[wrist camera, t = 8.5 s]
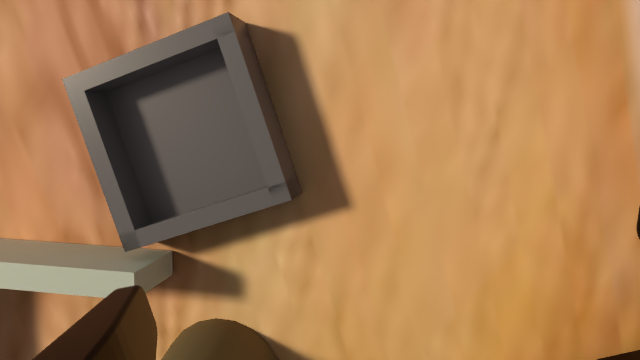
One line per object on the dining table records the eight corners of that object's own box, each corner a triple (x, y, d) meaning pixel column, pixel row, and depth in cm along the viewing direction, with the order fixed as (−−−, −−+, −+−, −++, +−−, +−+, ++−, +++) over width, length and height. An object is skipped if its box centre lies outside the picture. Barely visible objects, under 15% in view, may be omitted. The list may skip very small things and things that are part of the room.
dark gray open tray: (302, 192, 23) (291, 200, 20) (149, 240, 24) (125, 252, 22) (245, 22, 22) (228, 12, 20) (93, 82, 24) (62, 79, 21)
